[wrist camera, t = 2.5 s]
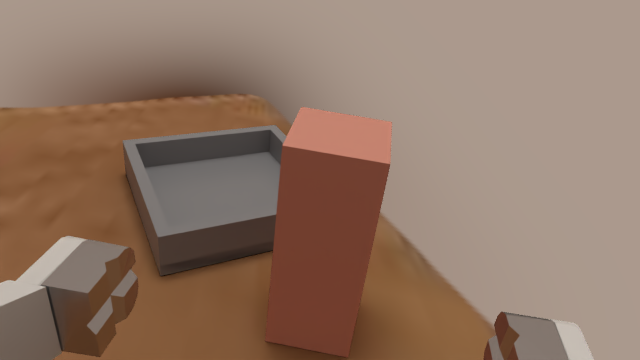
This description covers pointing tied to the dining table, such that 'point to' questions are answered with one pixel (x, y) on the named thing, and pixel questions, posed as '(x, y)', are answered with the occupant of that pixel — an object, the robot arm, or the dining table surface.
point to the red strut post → (325, 227)
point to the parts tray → (206, 194)
